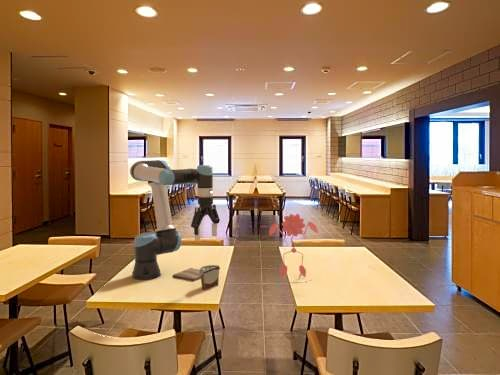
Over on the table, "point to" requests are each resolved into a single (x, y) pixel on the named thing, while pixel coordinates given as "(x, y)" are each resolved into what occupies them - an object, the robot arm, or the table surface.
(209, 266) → the food container
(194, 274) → the walnut board
